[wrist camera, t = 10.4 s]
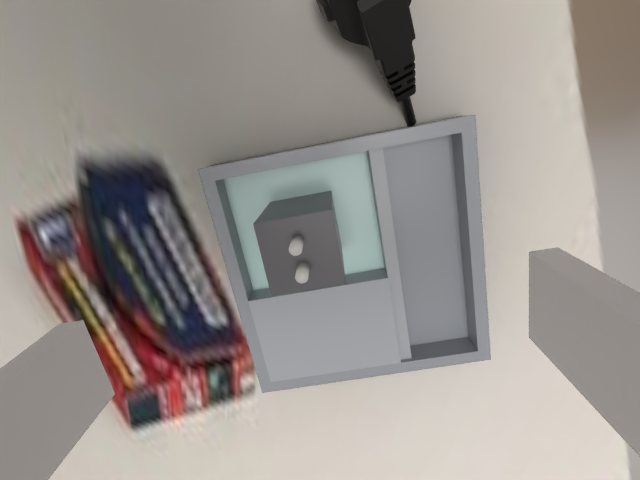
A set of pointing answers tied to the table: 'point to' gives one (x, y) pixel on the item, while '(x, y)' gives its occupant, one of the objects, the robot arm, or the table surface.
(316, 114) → the table surface
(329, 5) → the power plug
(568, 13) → the table surface
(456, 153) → the walled box
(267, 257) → the connector
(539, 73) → the table surface
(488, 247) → the table surface
